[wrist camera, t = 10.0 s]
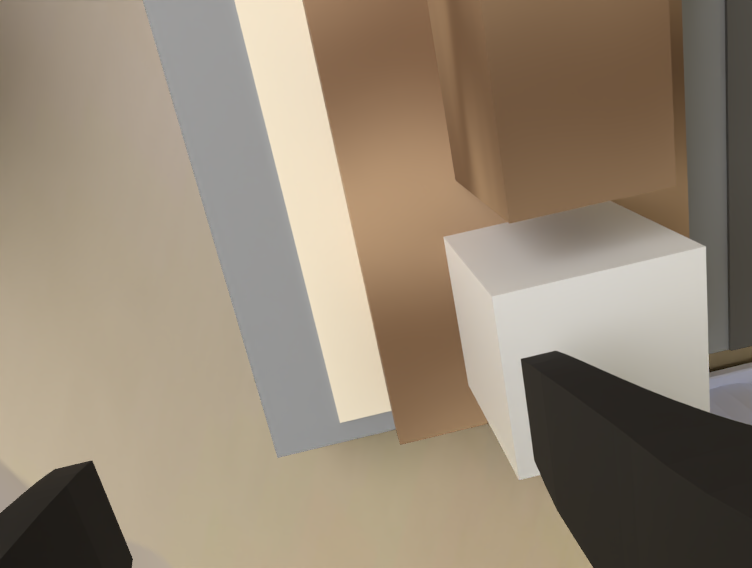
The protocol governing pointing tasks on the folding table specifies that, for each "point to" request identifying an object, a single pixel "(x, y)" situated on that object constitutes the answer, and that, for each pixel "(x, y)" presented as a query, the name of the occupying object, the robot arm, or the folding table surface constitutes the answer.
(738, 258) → the dock
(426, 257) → the pallet
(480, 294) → the block
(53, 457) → the folding table surface
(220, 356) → the folding table surface
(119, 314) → the folding table surface
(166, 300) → the folding table surface
